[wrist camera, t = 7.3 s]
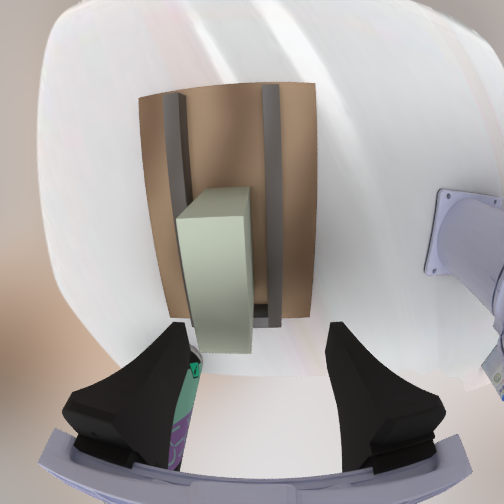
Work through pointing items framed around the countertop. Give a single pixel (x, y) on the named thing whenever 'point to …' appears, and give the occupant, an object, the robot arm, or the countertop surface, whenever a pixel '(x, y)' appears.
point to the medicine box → (495, 371)
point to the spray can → (184, 411)
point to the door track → (237, 182)
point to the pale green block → (219, 268)
